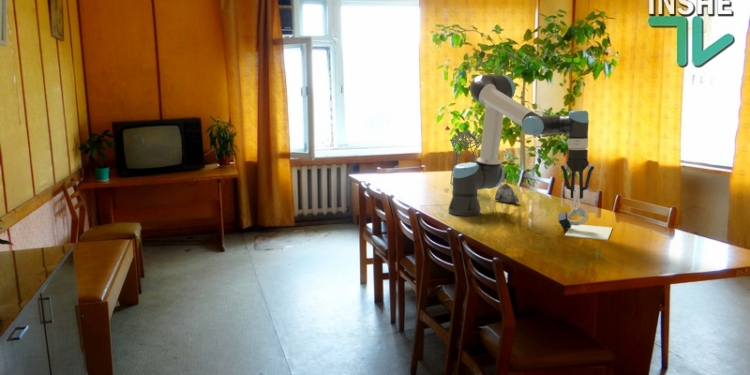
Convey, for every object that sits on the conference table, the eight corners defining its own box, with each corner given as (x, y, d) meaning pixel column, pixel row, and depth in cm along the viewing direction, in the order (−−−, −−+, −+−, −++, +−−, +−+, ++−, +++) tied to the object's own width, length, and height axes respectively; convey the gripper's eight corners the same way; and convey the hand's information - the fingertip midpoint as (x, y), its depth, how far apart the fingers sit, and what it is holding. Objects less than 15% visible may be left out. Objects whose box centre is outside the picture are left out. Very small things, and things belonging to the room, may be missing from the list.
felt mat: (564, 235, 231) (564, 234, 231) (572, 224, 251) (572, 223, 250) (607, 240, 224) (607, 239, 224) (612, 228, 243) (612, 227, 243)
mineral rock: (520, 205, 294) (520, 185, 292) (498, 205, 294) (499, 185, 292) (513, 200, 307) (514, 181, 305) (493, 200, 307) (494, 181, 305)
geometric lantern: (446, 190, 337) (449, 130, 332) (473, 190, 339) (475, 130, 334) (453, 195, 322) (456, 131, 317) (480, 195, 324) (484, 132, 318)
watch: (563, 219, 246) (589, 211, 240) (563, 232, 240) (590, 225, 235) (558, 210, 244) (583, 202, 238) (558, 223, 238) (584, 216, 232)
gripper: (558, 149, 234) (557, 206, 238) (595, 149, 228) (593, 208, 231) (561, 148, 241) (560, 204, 244) (597, 148, 235) (595, 205, 238)
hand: (576, 206), depth 238 cm, fingers closed
